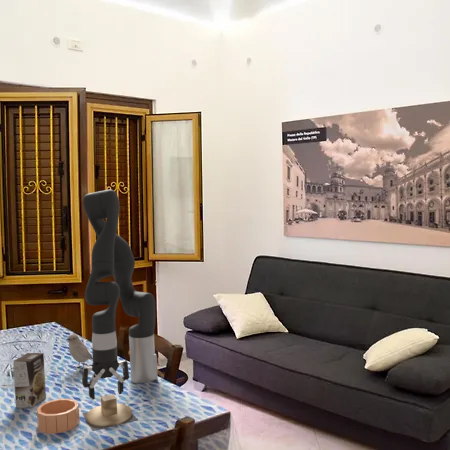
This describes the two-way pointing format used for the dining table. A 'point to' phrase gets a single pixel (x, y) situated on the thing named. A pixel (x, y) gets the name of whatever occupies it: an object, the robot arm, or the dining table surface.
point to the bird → (78, 349)
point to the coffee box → (29, 380)
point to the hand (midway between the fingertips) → (106, 396)
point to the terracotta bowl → (58, 416)
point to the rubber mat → (108, 426)
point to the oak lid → (109, 412)
